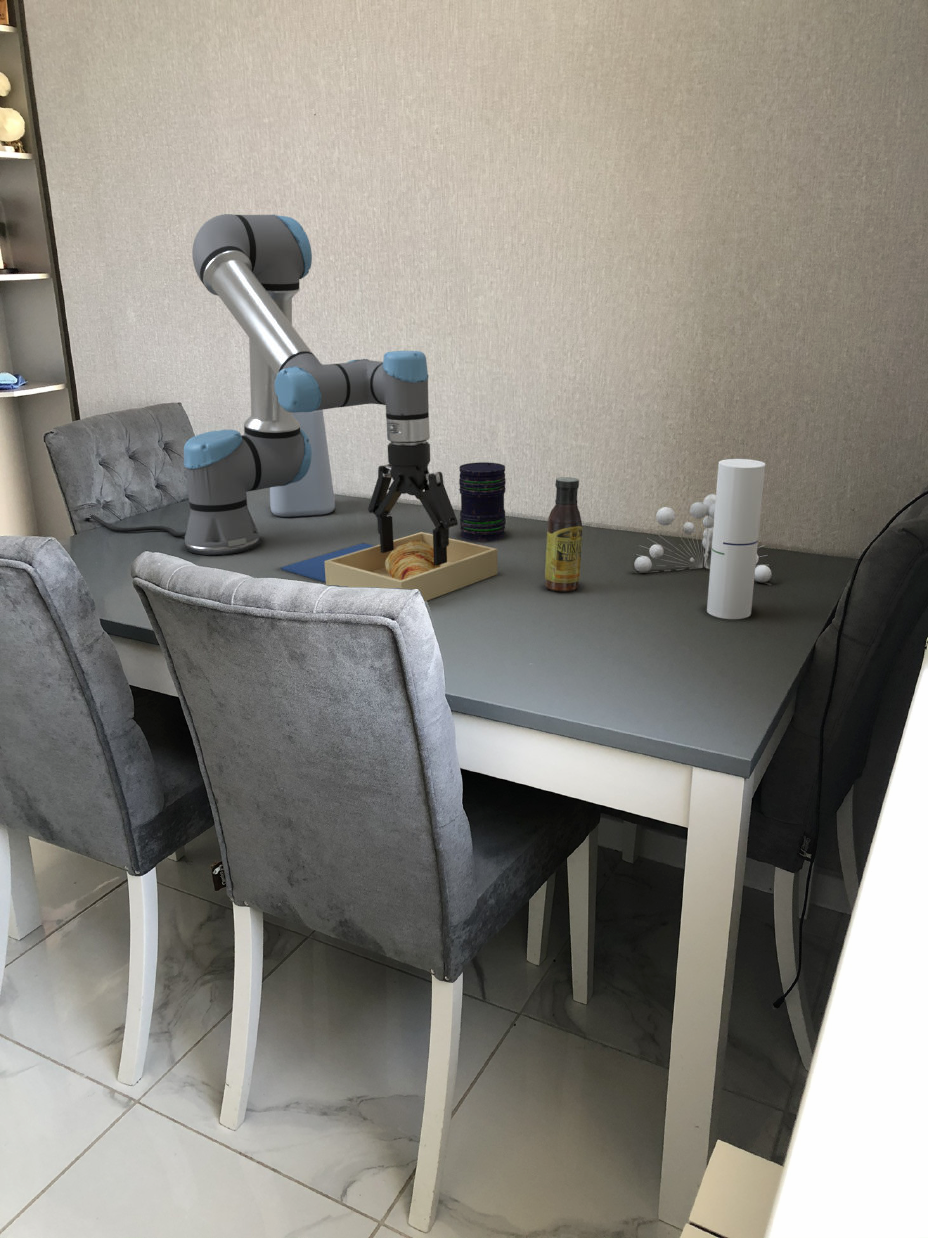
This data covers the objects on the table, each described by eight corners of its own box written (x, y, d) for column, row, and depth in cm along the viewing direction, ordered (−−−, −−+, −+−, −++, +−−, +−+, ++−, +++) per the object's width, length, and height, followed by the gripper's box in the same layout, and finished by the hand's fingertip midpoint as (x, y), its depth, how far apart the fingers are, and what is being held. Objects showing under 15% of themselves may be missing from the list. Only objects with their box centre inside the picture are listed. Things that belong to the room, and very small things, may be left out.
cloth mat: (280, 569, 187) (280, 567, 187) (363, 544, 203) (363, 542, 203) (329, 583, 179) (328, 581, 179) (411, 556, 194) (411, 554, 194)
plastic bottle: (271, 519, 224) (261, 396, 214) (270, 504, 238) (260, 388, 228) (336, 515, 227) (329, 394, 217) (332, 500, 241) (324, 386, 231)
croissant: (436, 612, 171) (456, 574, 169) (385, 591, 168) (405, 551, 166) (422, 574, 191) (440, 539, 189) (376, 554, 188) (394, 518, 186)
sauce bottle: (556, 595, 171) (559, 484, 164) (538, 585, 176) (539, 477, 169) (587, 589, 173) (591, 480, 167) (568, 580, 179) (571, 473, 172)
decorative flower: (609, 555, 193) (612, 485, 188) (713, 547, 198) (718, 479, 193) (658, 594, 170) (663, 516, 166) (774, 584, 175) (782, 508, 170)
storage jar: (490, 544, 202) (490, 473, 197) (451, 538, 207) (449, 469, 202) (513, 533, 210) (514, 464, 205) (475, 527, 215) (474, 460, 210)
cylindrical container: (743, 622, 157) (757, 469, 148) (700, 614, 160) (712, 465, 152) (756, 609, 163) (770, 461, 154) (714, 602, 166) (726, 457, 157)
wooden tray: (325, 587, 177) (324, 561, 175) (422, 555, 195) (421, 531, 193) (402, 610, 165) (401, 582, 163) (497, 574, 183) (497, 548, 181)
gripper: (345, 438, 176) (352, 550, 183) (446, 452, 160) (450, 574, 167) (374, 432, 181) (380, 542, 188) (476, 445, 166) (478, 564, 173)
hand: (413, 557), depth 178 cm, fingers open, 13 cm apart
